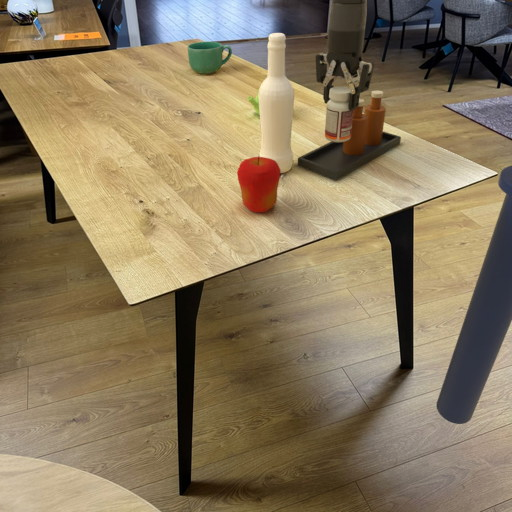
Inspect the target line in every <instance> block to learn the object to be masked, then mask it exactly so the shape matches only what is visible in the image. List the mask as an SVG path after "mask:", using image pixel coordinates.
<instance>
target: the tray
mask: <svg viewBox="0 0 512 512" xmlns="http://www.w3.org/2000/svg"><path fill="white" fill-rule="evenodd" d="M401 140H402V136H401V135H397V134H393V133H389V132H387V131H383V133H382V140H381V144H379V145H375V146H370V145H365V144H364V152H363V153H362V154H361V155H348V154H345V153H344V152H343V142H332V141H329V142H327V143H325V144H323V145H321V146H319V147H316V148H314V149H313V150H311V151H309V152H307V153H305V154H302V155H301V156H299V157H297V167H299V168H303V169H305V170H308V171H310V172H311V173H315V174H317V175H321V176H322V177H326V178H328V179H330V180H333V181H338V180H340V179H342V178H343V177H345V176H347V175H348V174H350V173H352V172H355V170H358V169H359V168H361V167H363V166H365V165H366V164H368V163H370V162H371V161H373V160H375V159H377V158H379V157H380V156H382V155H384V154H385V153H387V152H389V151H390V150H391V151H392V149H394V148H396V147H398V146H399V145H401Z"/></svg>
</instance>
